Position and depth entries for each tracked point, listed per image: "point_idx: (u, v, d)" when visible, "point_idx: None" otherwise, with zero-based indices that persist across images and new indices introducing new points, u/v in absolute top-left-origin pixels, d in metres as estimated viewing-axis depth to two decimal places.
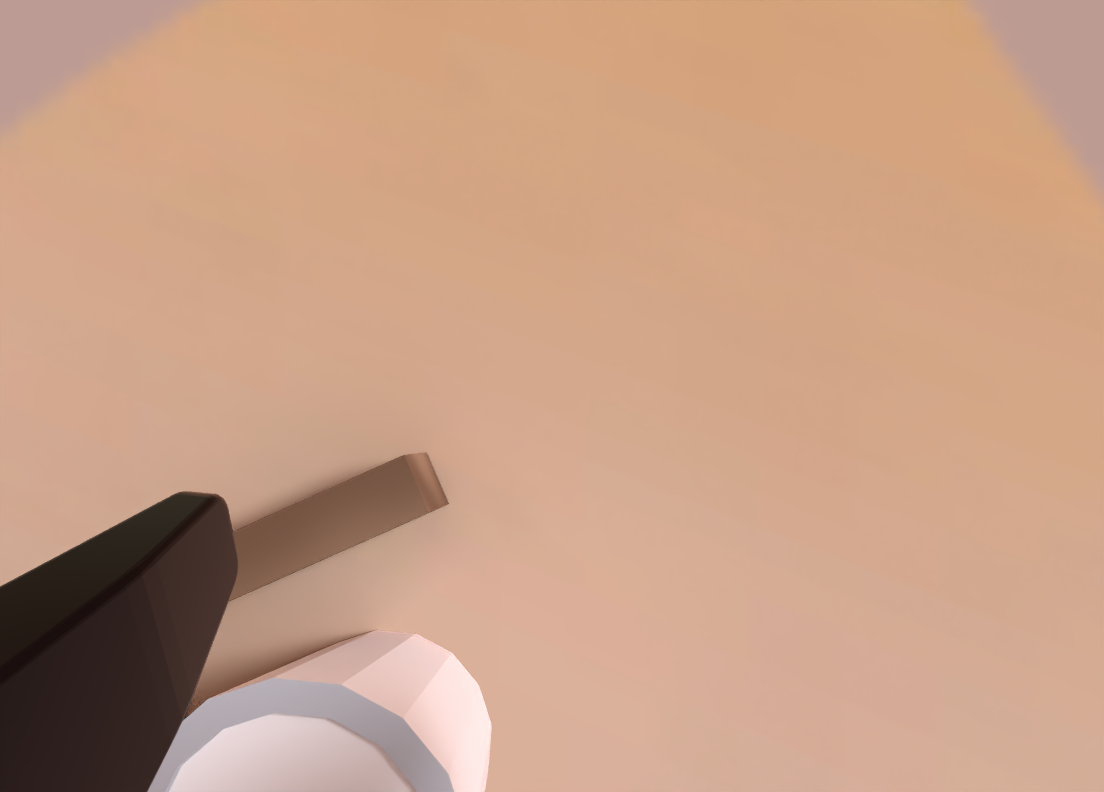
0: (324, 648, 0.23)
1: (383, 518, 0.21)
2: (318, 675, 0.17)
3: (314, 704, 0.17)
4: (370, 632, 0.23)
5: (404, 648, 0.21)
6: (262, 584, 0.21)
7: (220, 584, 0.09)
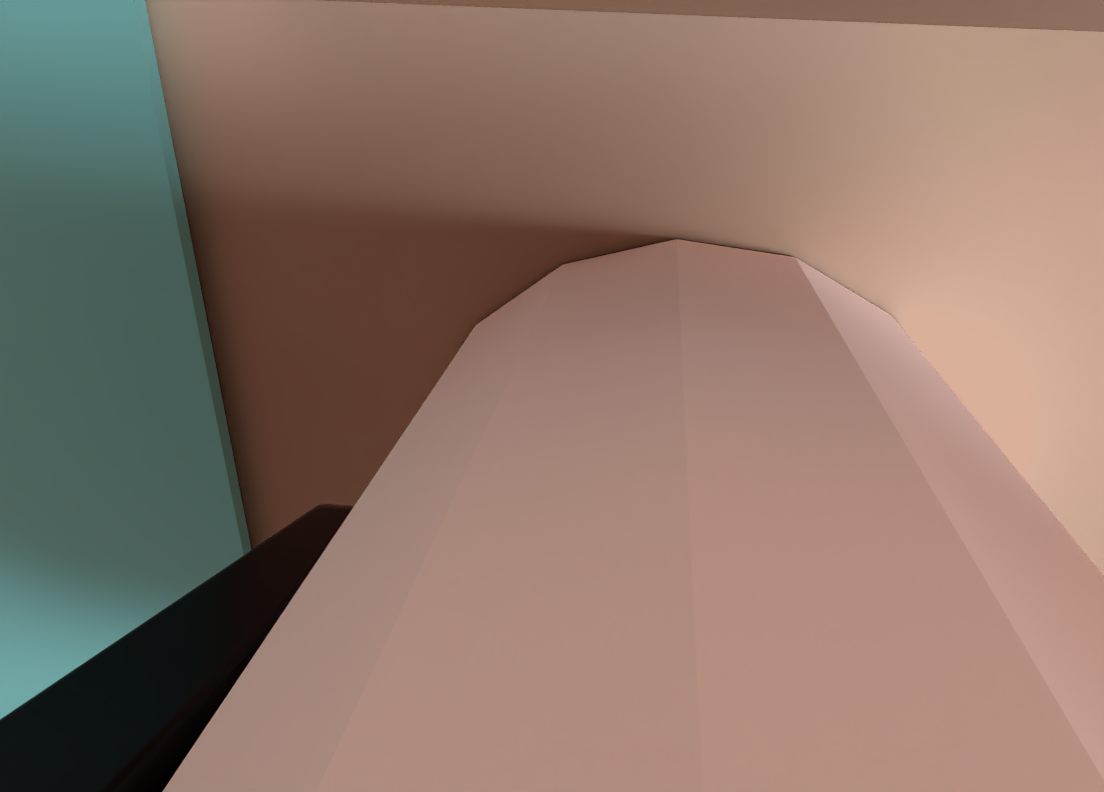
0: (685, 276, 0.07)
1: None
2: None
3: None
4: (801, 271, 0.08)
5: None
6: (693, 9, 0.05)
7: None
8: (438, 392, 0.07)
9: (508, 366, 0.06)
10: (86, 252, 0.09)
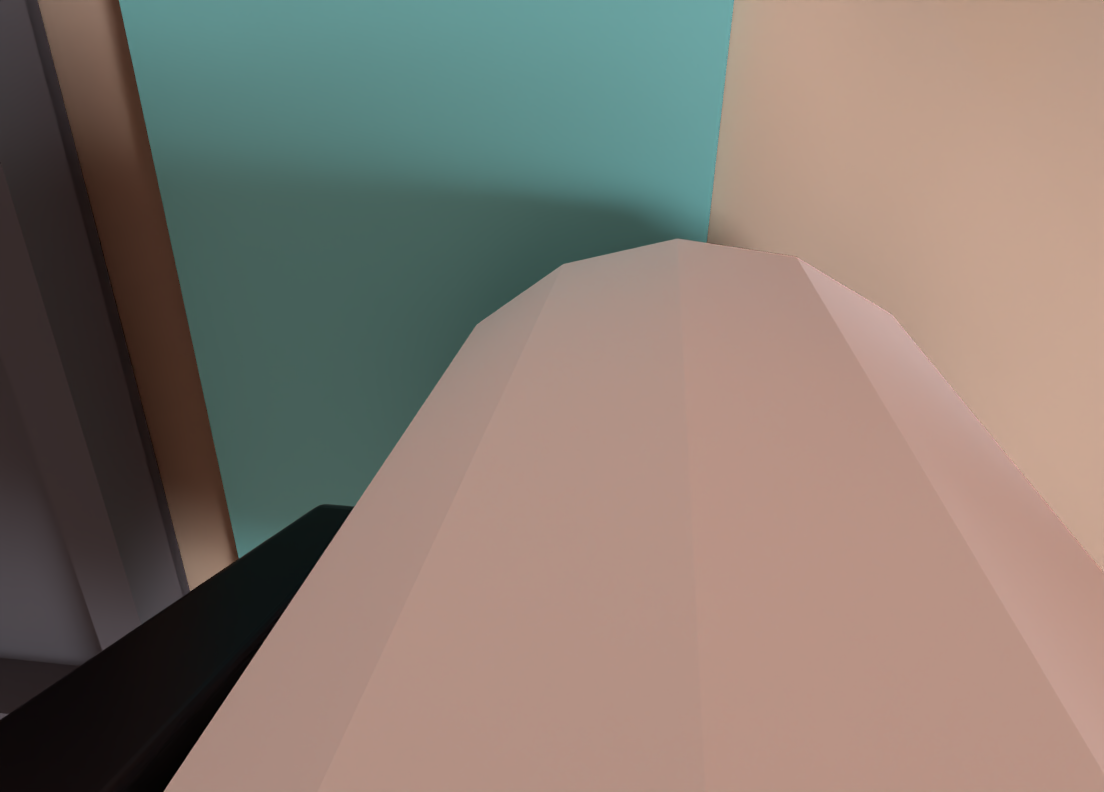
0: (686, 275, 0.07)
1: None
2: None
3: None
4: (802, 270, 0.08)
5: None
6: None
7: None
8: (439, 391, 0.07)
9: (510, 366, 0.06)
10: (613, 231, 0.09)
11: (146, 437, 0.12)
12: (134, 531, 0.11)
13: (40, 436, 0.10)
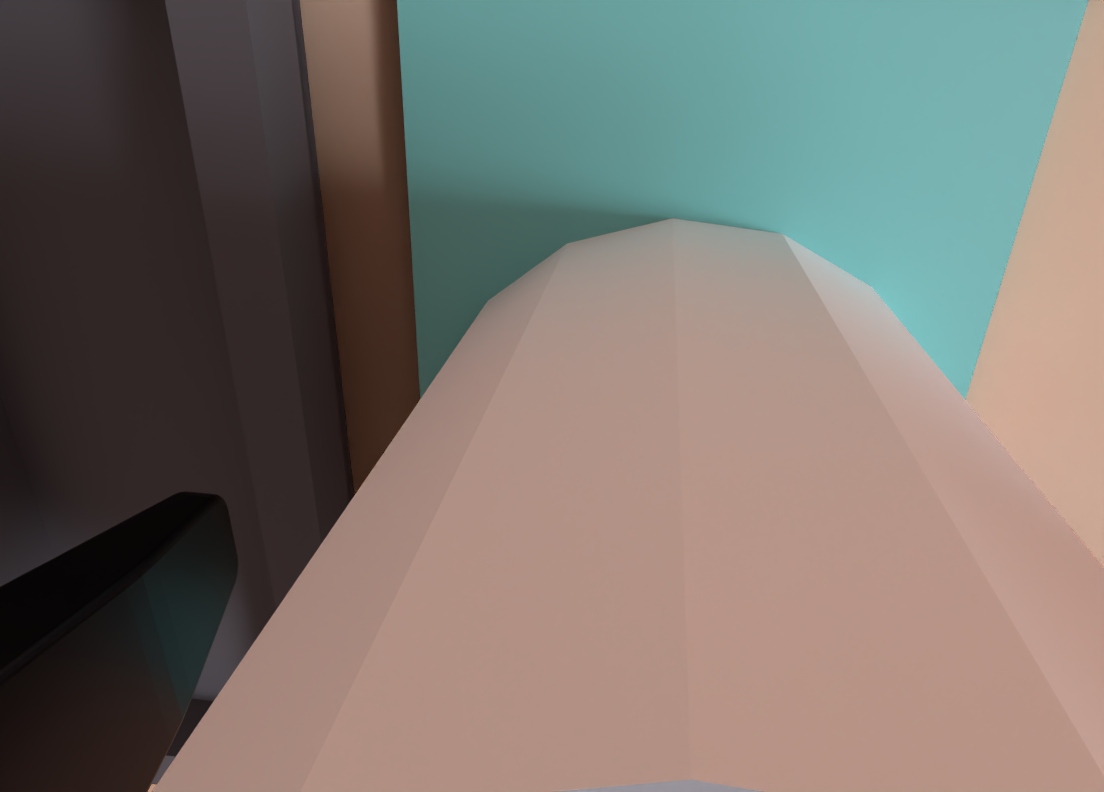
0: (680, 249, 0.08)
1: None
2: None
3: None
4: (787, 245, 0.08)
5: None
6: None
7: (220, 584, 0.09)
8: (455, 358, 0.08)
9: (521, 329, 0.07)
10: (900, 266, 0.09)
11: (349, 472, 0.11)
12: None
13: (263, 475, 0.10)
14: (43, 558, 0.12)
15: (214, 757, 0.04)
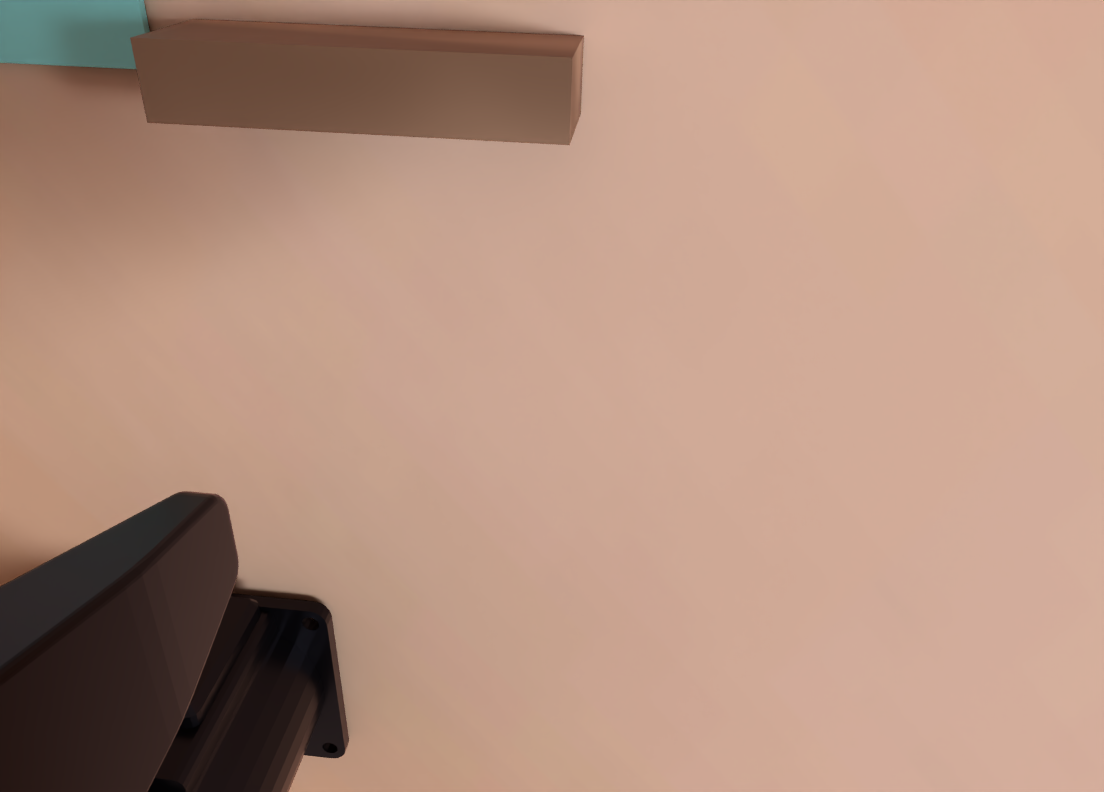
0: None
1: None
2: None
3: None
4: None
5: None
6: None
7: (220, 584, 0.09)
8: None
9: None
10: None
11: None
12: None
13: None
14: None
15: None
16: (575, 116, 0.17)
